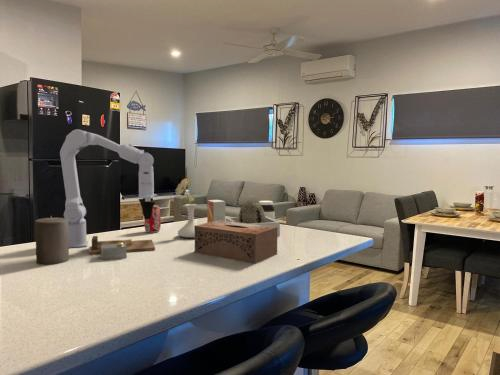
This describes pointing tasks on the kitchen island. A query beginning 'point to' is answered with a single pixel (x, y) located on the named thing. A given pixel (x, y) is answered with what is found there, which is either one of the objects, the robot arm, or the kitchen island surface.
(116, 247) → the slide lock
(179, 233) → the flower in vase
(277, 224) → the egg stand tray
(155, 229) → the soda can
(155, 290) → the kitchen island surface
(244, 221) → the decorative egg
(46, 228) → the pillar candle
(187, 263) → the kitchen island surface
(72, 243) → the robot arm
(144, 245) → the board
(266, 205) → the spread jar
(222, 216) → the small box
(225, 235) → the tissue box cover
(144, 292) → the kitchen island surface
